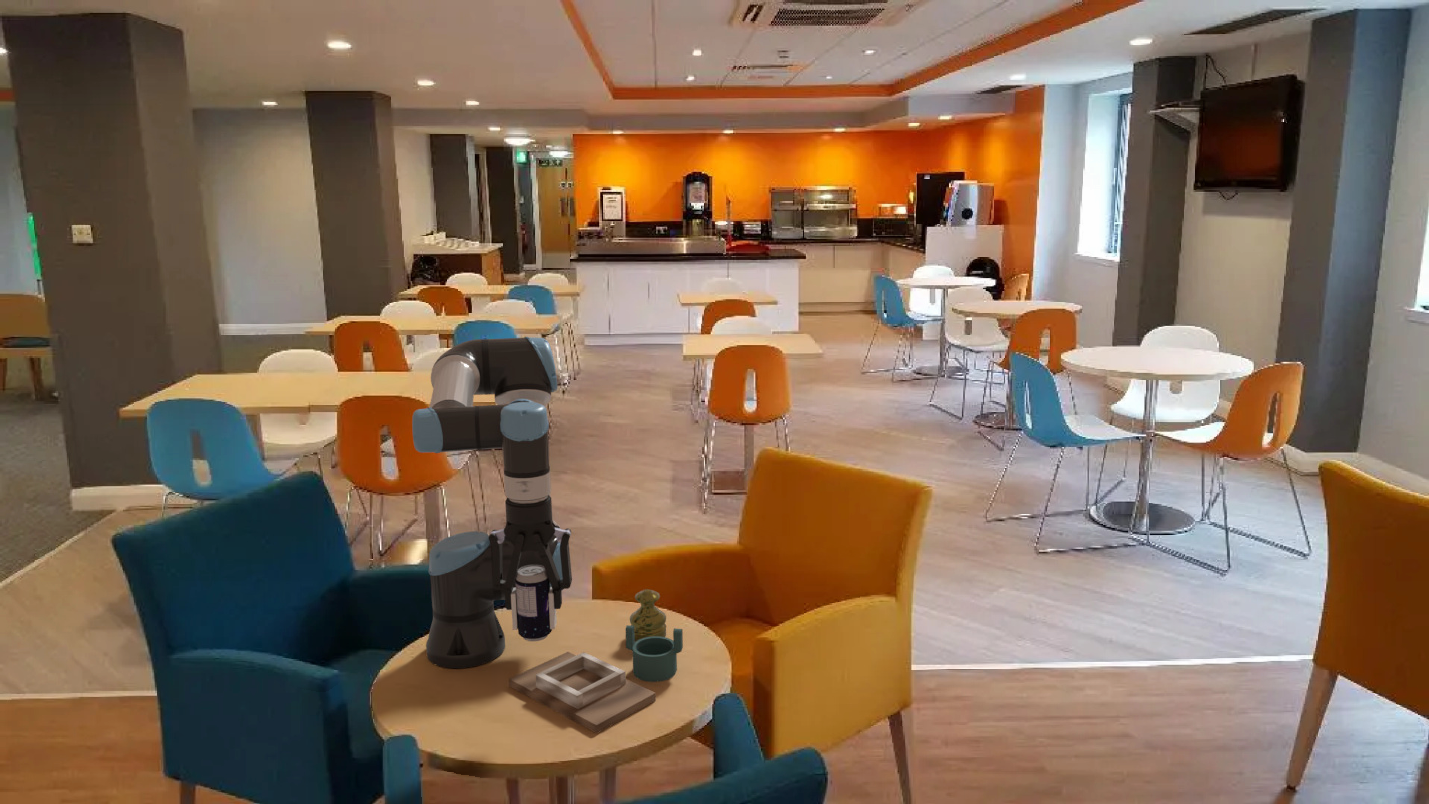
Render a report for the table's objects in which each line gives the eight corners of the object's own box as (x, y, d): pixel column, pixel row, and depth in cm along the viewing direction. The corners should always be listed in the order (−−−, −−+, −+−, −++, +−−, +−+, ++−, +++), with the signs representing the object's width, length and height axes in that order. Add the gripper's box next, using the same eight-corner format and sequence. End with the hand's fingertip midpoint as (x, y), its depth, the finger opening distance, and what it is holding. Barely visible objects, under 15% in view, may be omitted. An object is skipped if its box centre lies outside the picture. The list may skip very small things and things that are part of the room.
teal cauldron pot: (686, 674, 182) (686, 630, 181) (642, 686, 178) (641, 641, 176) (664, 655, 190) (663, 612, 188) (621, 667, 185) (620, 623, 184)
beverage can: (553, 641, 164) (550, 574, 161) (519, 645, 162) (515, 578, 160) (550, 626, 169) (547, 562, 166) (517, 630, 168) (513, 565, 165)
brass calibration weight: (674, 635, 198) (673, 589, 196) (648, 648, 193) (647, 601, 190) (648, 625, 203) (647, 580, 201) (622, 637, 197) (621, 591, 195)
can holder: (509, 686, 178) (508, 666, 177) (568, 658, 189) (567, 639, 188) (596, 733, 163) (596, 711, 162) (655, 700, 173) (655, 680, 172)
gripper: (466, 504, 156) (475, 637, 161) (582, 503, 157) (587, 635, 162) (476, 490, 163) (484, 617, 169) (587, 488, 164) (591, 615, 169)
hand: (534, 625), depth 165 cm, fingers closed on beverage can, 6 cm apart
